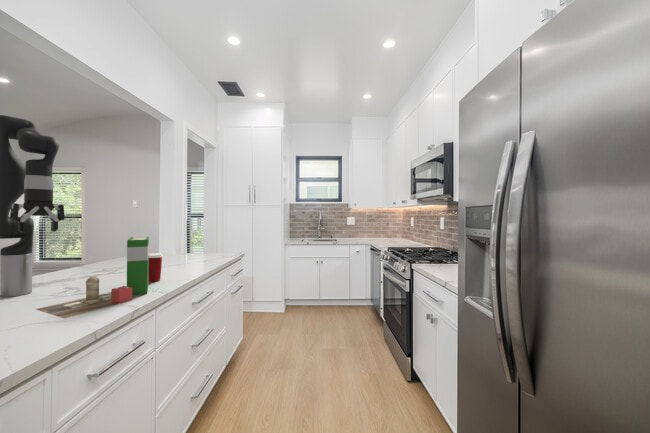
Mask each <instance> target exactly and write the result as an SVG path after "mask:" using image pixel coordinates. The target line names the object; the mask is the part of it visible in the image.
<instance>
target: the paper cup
mask: <svg viewBox="0 0 650 433" xmlns="http://www.w3.org/2000/svg"><path fill="white" fill-rule="evenodd" d="M163 257H164V256H163V254H162V253H160V252H158V253H157V252H156V253H149V280H148V283H156V282H160V281H161V275H162V266H163V265H162V262H163Z"/></svg>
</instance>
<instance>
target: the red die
mask: <svg viewBox="0 0 650 433" xmlns="http://www.w3.org/2000/svg"><path fill="white" fill-rule="evenodd" d="M110 295H111V301H112V302H117V303H121V302H124V303H126V302H125V301H128V302H130V301H129V300H132V301H133V296H132V287H127V285H123V286H119V287H113V288H111V294H110ZM121 304H122V303H121Z"/></svg>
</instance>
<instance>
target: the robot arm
mask: <svg viewBox="0 0 650 433" xmlns="http://www.w3.org/2000/svg"><path fill="white" fill-rule="evenodd" d="M10 140H13V141H14V140H16V141H17V143H18V147H19V149H20V150H21V151H23V152H25V153H31V154H38V155H44V157H43V158H40V159H39V158H38V159H36V158H35V159H27V160H26V161H25V164H24V162H23V161H22V160H21V159H20V158H19V156H18V155H17V154H16V152H14V150H13V147H12V146H11V143H10ZM59 148H60V143H59V141H58V139H57V138H55V137H53V136H49V135H43V134H42V133H41V132H39V131H38V129H37V126H36V125H35V124H34V122H32V121H30V120H27V119H25V118H24V119H23V118H19V117H13V116H9V115H4V114H0V240H1V239H2V240H3V239H4V240H5V239H19V240H18V241H17V242H15V243H13V244H10V245H7V246H5V247H1V249H0V297H2V298H7V297H8V298H9V297H10V298H11V297H18V296H19V297H20V296H23V295H27V294H31V293H32V292H33V244H34V231H35V224H34V219H33V218H32V217H34V216H35V217H36V216H37V217H38V216H40V217H42V216H43V217H45V216H46V217H47V218H48V219H49V220H50V221H51V222H50V231H51V232H53V233H54V232H57V231H58V230H59V222H60V221H64V220H65V219H66V217H65V206H64V204H54V189H55V188H54V182H53V181H54V180H53V165H54V161H55V158H56V156H57V154H58V152H59ZM22 196H23V203H21V204H20V203H16V202H17V201H18V199H20V198H21V197H22ZM22 208H23V210H25V211H24V212H23V213H22V214H21V216H19V212H20V210H22ZM53 210H54V211H56V214H57V216H56V214H55V213H54V212H53ZM31 216H32V217H31Z"/></svg>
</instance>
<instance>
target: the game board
mask: <svg viewBox="0 0 650 433" xmlns="http://www.w3.org/2000/svg"><path fill="white" fill-rule="evenodd" d="M99 297H101V301H98V302H93V303H83V300H84V299H86V297H84V298H79V299H75V300H69V301H66V302H61V303H57V304H52V305H48V306H43V307H39V308H35V310H36V311H39V312H43V313H46V314H49V315H52V316H55V317H58V318H59V317H60V318H62V319H67V318H71V317H74V316H78V315H82V314H86V313H89V312H90V313H91V312H93V311H97V310H101V309H104V308H109V307H112V306H113V307H114V306H116V305H119V304H123V303H128V302H131V301H133V299H132V300H129V301H125V302H121V303H117V302H112V301H111V294H110V293H109V294H108V293H102V294H99Z"/></svg>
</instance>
